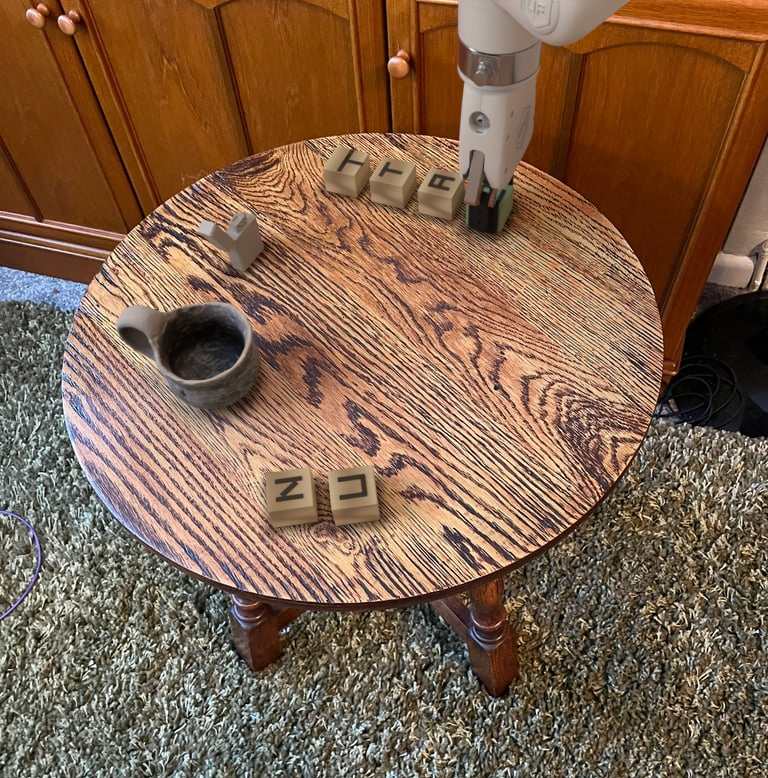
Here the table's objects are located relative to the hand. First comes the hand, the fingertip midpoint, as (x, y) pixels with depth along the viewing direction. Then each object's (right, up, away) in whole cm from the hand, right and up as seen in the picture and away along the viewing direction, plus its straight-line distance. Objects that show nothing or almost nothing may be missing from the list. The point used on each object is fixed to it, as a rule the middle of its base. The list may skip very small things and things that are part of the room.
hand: (489, 214), depth 85 cm
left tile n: (-20, -32, -15) cm, 41 cm away
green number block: (0, 0, 0) cm, 0 cm away
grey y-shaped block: (-27, -6, 0) cm, 28 cm away
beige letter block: (-16, +5, +5) cm, 17 cm away
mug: (-29, -21, -8) cm, 37 cm away
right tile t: (-11, +3, +3) cm, 12 cm away
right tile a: (-5, +2, +2) cm, 6 cm away
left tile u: (-14, -32, -16) cm, 39 cm away
